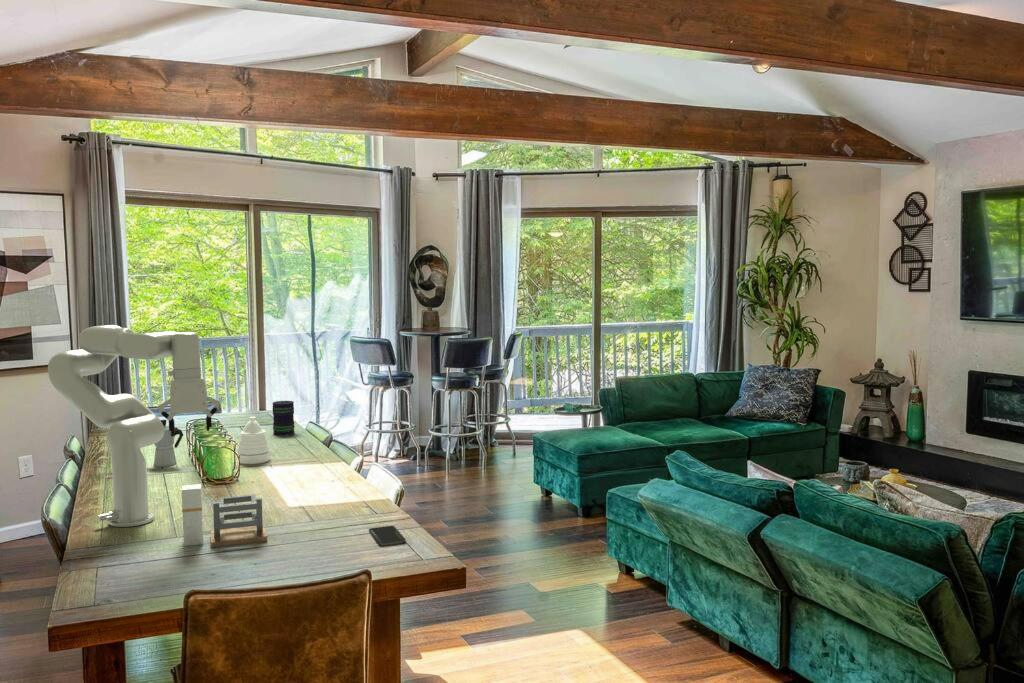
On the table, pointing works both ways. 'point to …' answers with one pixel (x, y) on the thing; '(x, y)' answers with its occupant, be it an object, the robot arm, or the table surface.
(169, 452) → the coffee maker
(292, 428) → the storage jar
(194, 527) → the white block
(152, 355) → the robot arm
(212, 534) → the collar rack
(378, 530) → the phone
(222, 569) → the table surface
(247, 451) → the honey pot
